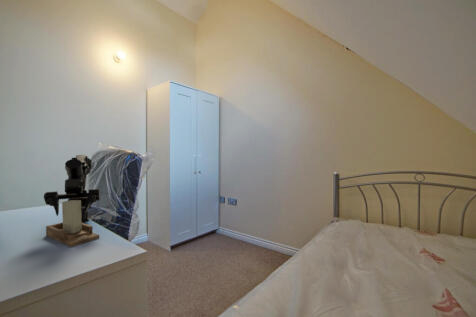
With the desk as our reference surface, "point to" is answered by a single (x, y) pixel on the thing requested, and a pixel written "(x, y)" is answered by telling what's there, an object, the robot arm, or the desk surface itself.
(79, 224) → the box
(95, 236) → the tray
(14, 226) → the desk surface
